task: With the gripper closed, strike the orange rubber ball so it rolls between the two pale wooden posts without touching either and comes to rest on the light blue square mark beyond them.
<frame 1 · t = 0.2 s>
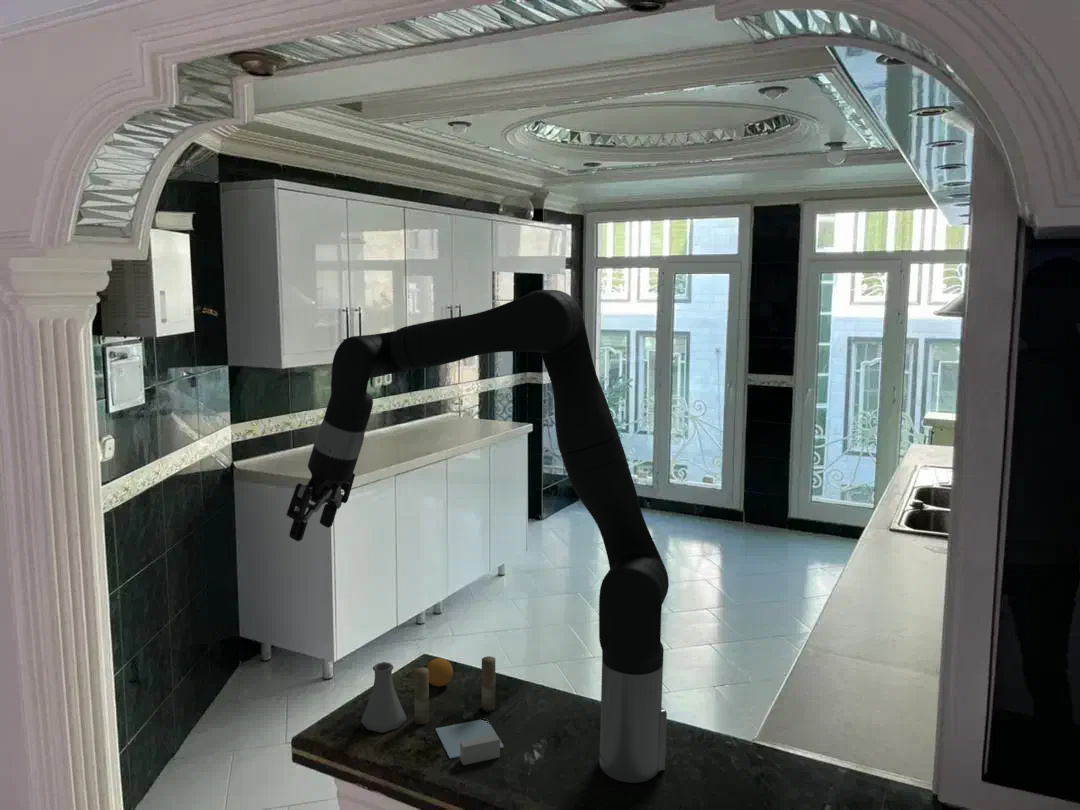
hand: (310, 531, 136), 31 cm above the worktop, tool tilted 20°, fingers open, 8 cm apart
inner post: (488, 707, 139), on the worktop
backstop: (480, 758, 124), on the worktop
ball: (439, 672, 147), on the worktop
flask: (384, 723, 134), on the worktop
outer post: (421, 720, 135), on the worktop
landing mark: (469, 738, 130), on the worktop
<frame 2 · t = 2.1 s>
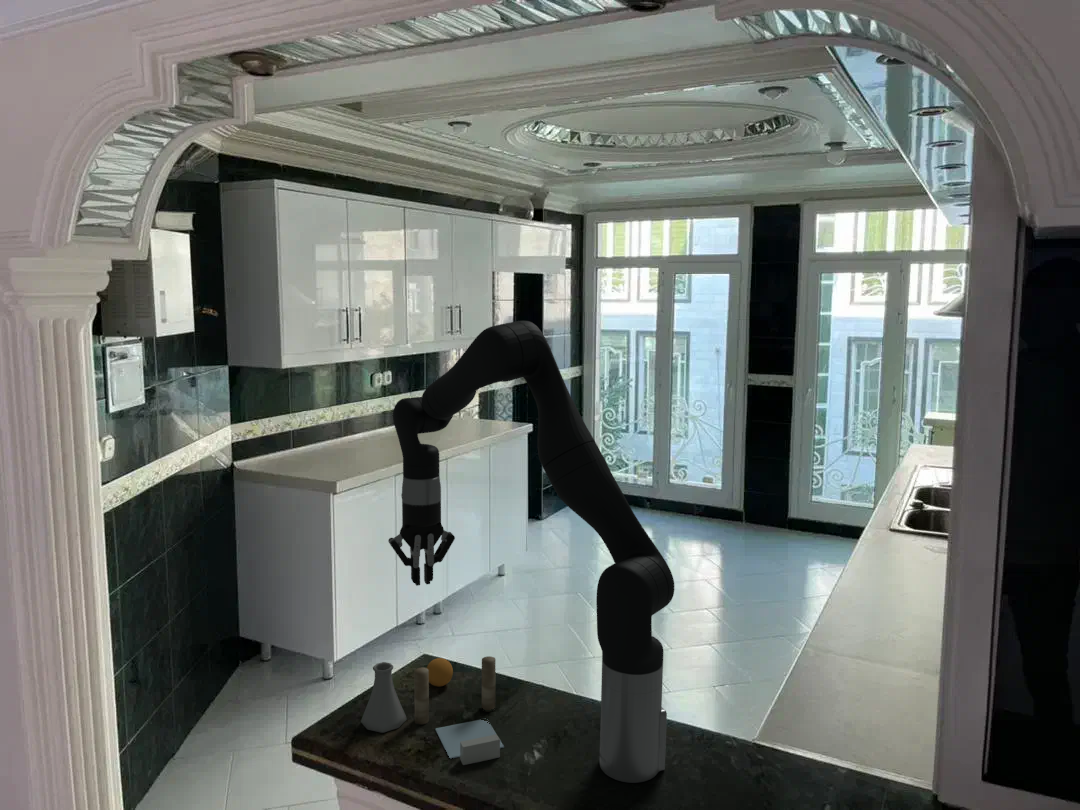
hand: (422, 583, 157), 15 cm above the worktop, tool pointing down, fingers closed
nothing on the worktop moved.
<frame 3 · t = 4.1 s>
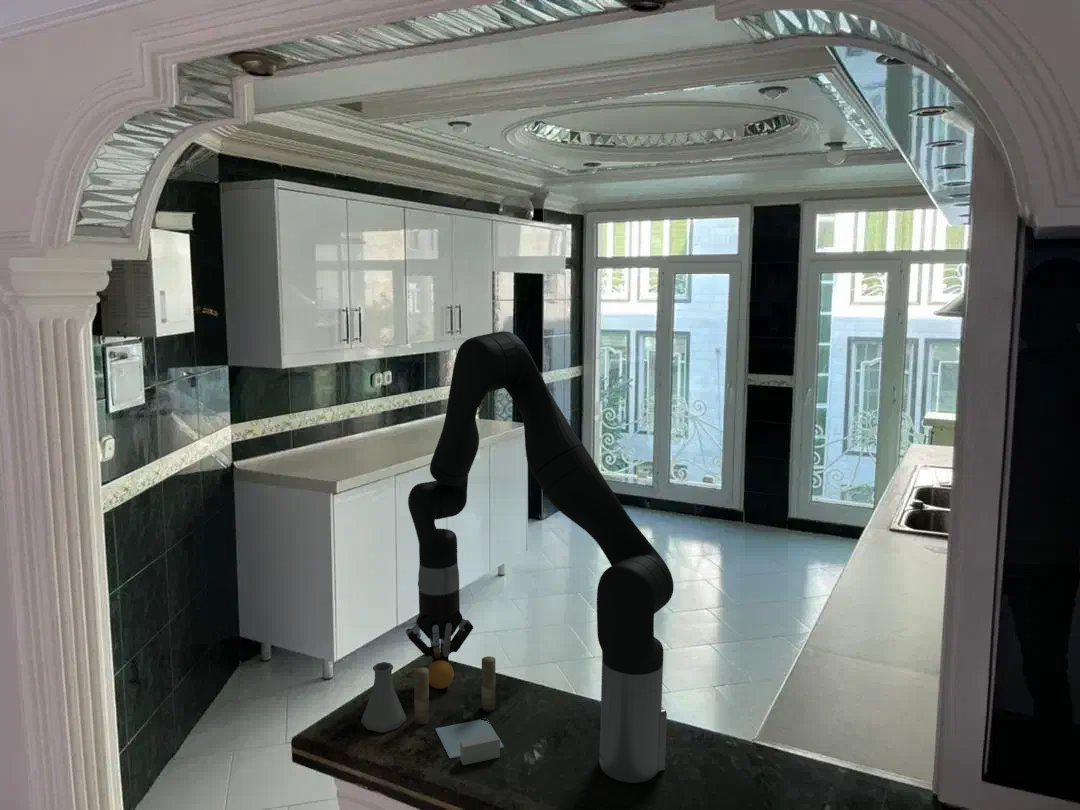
hand: (440, 673, 150), 1 cm above the worktop, tool pointing down, fingers closed
ball: (440, 674, 146), on the worktop, touching gripper
everything else where it was.
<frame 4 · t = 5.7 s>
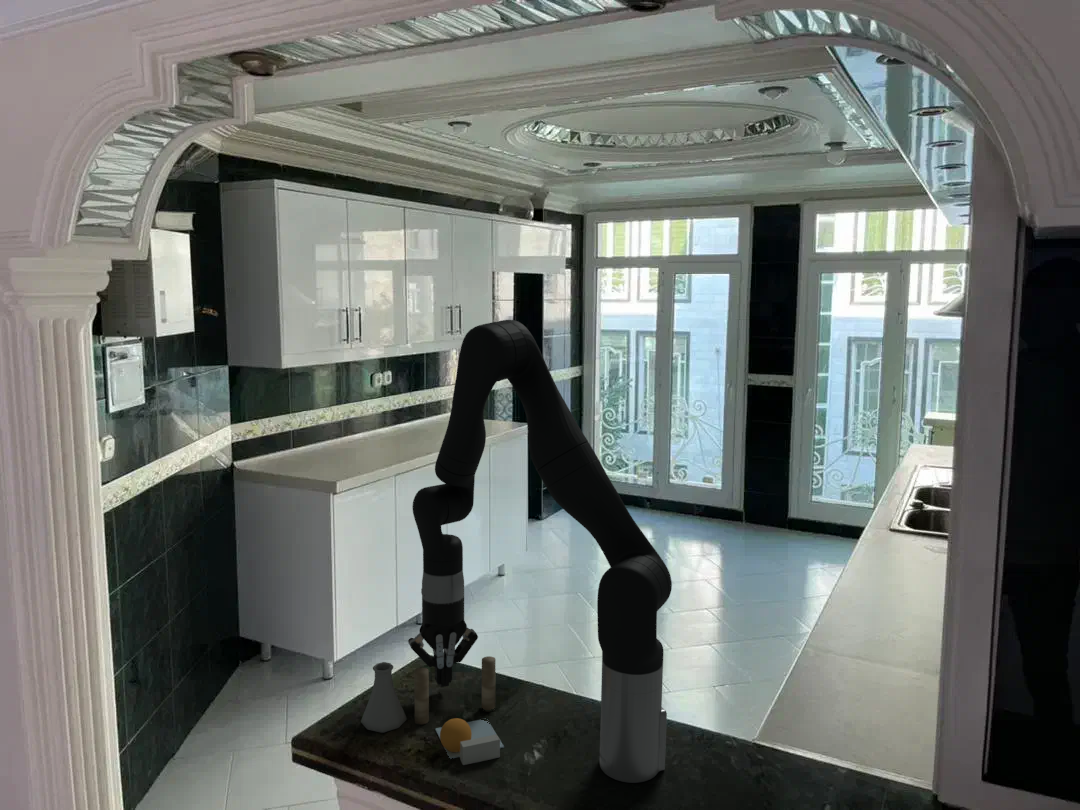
hand: (443, 684, 144), 2 cm above the worktop, tool pointing down, fingers closed
ball: (455, 735, 126), on the worktop
everything else where it was.
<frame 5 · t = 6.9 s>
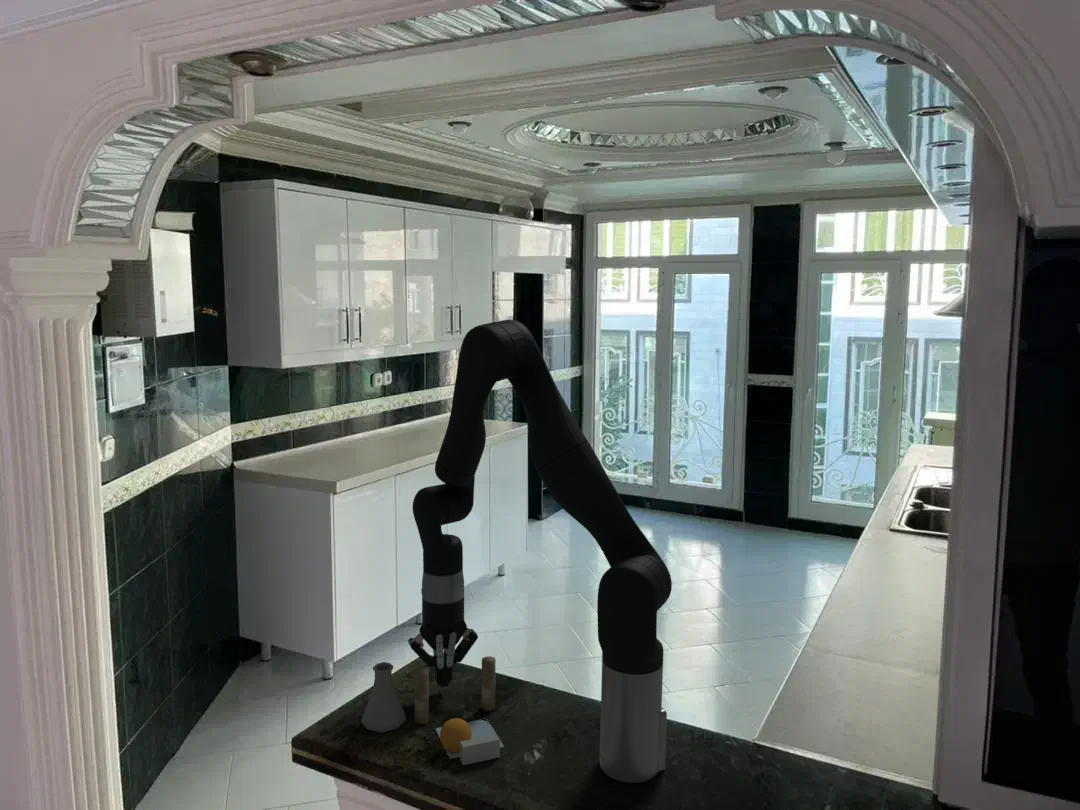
hand: (443, 684, 144), 2 cm above the worktop, tool pointing down, fingers closed
nothing on the worktop moved.
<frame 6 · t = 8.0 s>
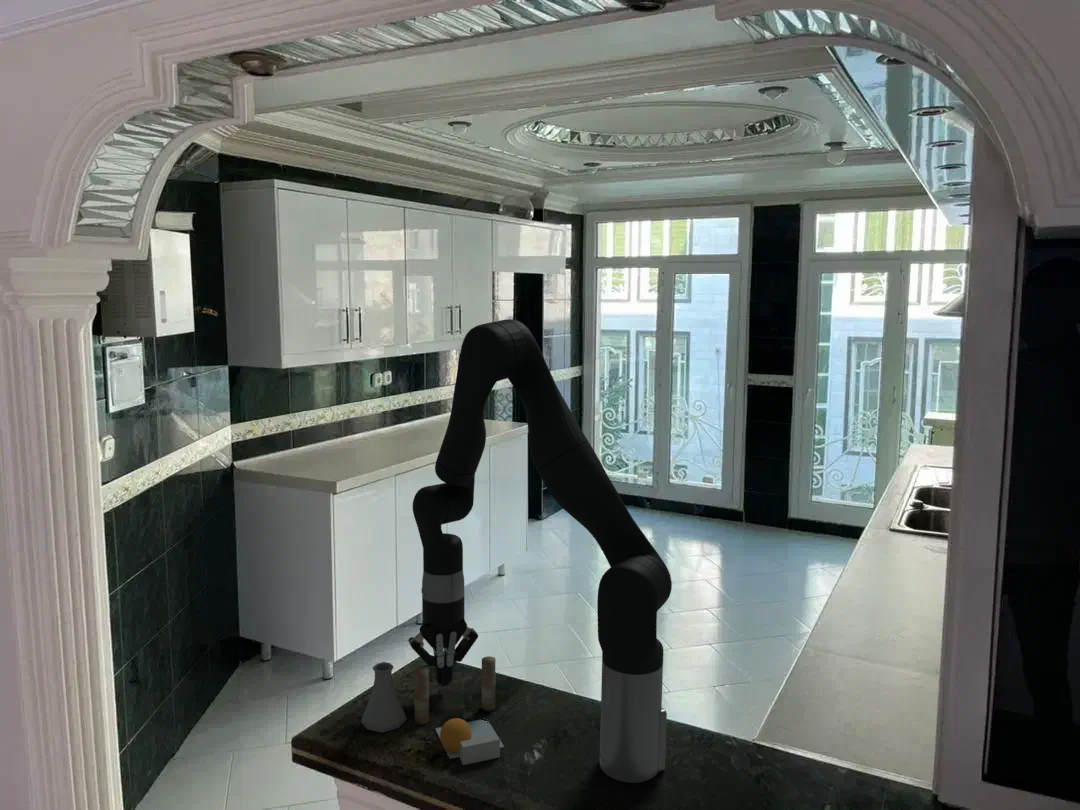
hand: (443, 684, 144), 2 cm above the worktop, tool pointing down, fingers closed
nothing on the worktop moved.
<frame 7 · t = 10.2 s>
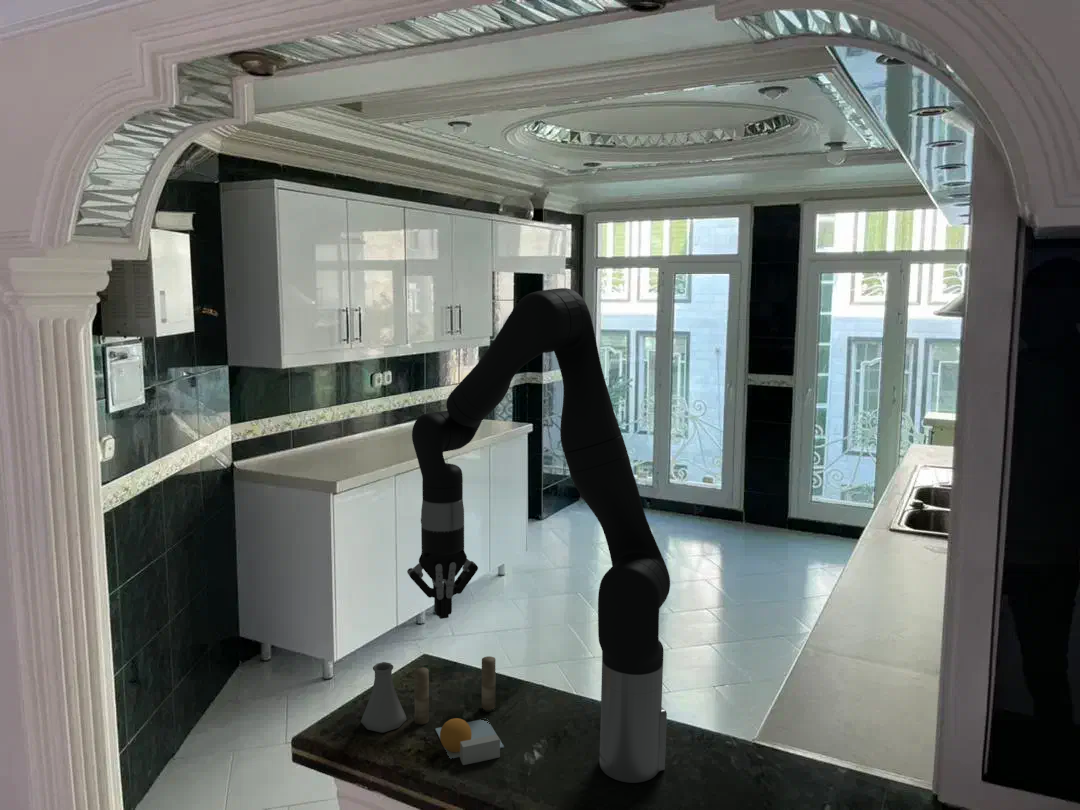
hand: (443, 616, 142), 14 cm above the worktop, tool pointing down, fingers closed
nothing on the worktop moved.
at the end: ball 3.7 cm from the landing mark (horizontally); ball never touched inner post; ball never touched outer post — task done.
